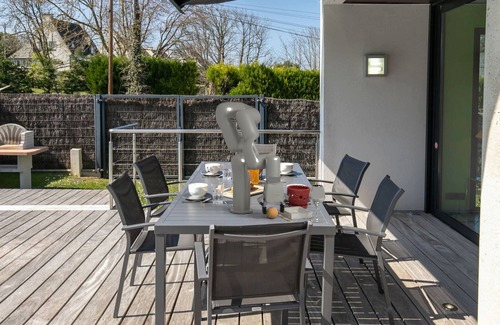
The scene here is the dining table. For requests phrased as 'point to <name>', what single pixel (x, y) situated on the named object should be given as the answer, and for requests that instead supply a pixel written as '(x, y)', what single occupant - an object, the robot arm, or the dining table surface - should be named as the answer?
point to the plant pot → (298, 196)
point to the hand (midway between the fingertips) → (273, 213)
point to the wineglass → (317, 198)
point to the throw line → (285, 218)
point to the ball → (272, 212)
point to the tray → (296, 213)
